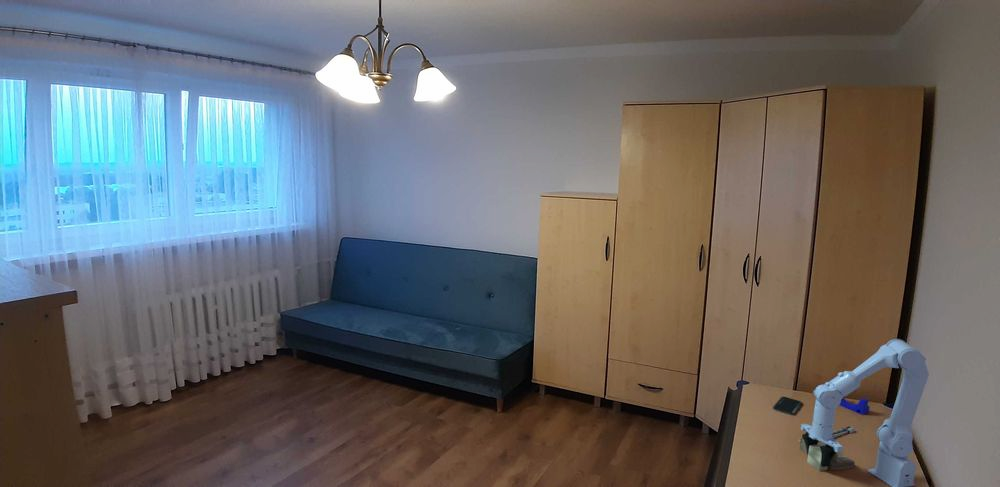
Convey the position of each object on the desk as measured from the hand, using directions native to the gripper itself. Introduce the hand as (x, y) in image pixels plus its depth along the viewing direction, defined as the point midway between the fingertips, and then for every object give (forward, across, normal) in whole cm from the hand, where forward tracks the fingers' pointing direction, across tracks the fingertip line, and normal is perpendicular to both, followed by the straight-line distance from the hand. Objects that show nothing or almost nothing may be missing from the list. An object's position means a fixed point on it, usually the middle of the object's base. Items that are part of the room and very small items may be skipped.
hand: (817, 461), depth 171 cm
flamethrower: (+2, -16, +18) cm, 25 cm away
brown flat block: (+2, -4, +7) cm, 8 cm away
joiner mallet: (+2, 0, +3) cm, 3 cm away
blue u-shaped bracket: (+2, -33, +49) cm, 59 cm away
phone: (+2, -38, +23) cm, 45 cm away
